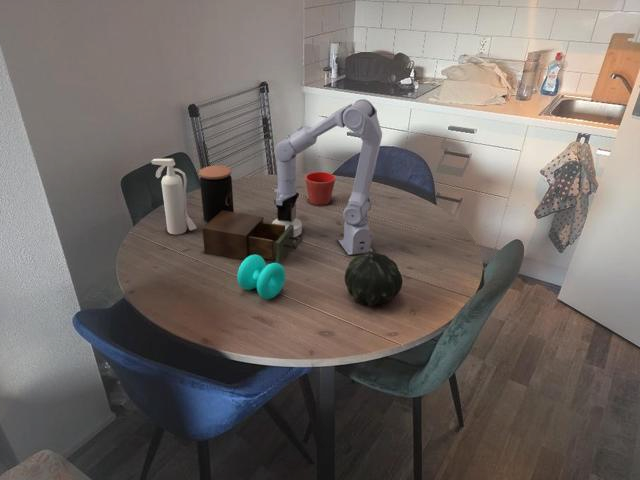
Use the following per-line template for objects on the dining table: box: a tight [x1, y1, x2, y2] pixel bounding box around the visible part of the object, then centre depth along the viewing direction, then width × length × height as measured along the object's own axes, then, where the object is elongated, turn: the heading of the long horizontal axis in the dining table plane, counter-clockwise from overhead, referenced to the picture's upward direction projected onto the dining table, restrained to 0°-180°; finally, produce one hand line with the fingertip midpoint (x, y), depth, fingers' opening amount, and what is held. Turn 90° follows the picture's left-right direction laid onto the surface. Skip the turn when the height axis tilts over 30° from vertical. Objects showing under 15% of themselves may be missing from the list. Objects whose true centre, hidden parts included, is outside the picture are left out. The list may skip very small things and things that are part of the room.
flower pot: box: [305, 171, 336, 206], centre depth 185 cm, size 11×11×10 cm
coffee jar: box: [198, 165, 235, 224], centre depth 170 cm, size 11×11×18 cm
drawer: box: [247, 221, 303, 264], centre depth 152 cm, size 18×12×7 cm
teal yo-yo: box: [237, 255, 286, 300], centre depth 133 cm, size 10×10×10 cm
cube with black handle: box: [276, 204, 297, 223], centre depth 162 cm, size 5×4×5 cm
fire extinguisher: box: [150, 158, 197, 236], centre depth 161 cm, size 7×12×25 cm, turn 74°
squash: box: [344, 251, 403, 307], centre depth 130 cm, size 14×15×15 cm
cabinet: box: [201, 210, 265, 261], centre depth 156 cm, size 15×14×9 cm
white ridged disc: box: [271, 217, 303, 238], centre depth 165 cm, size 10×10×4 cm
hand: (286, 217), depth 163 cm, fingers closed on cube with black handle, 4 cm apart
